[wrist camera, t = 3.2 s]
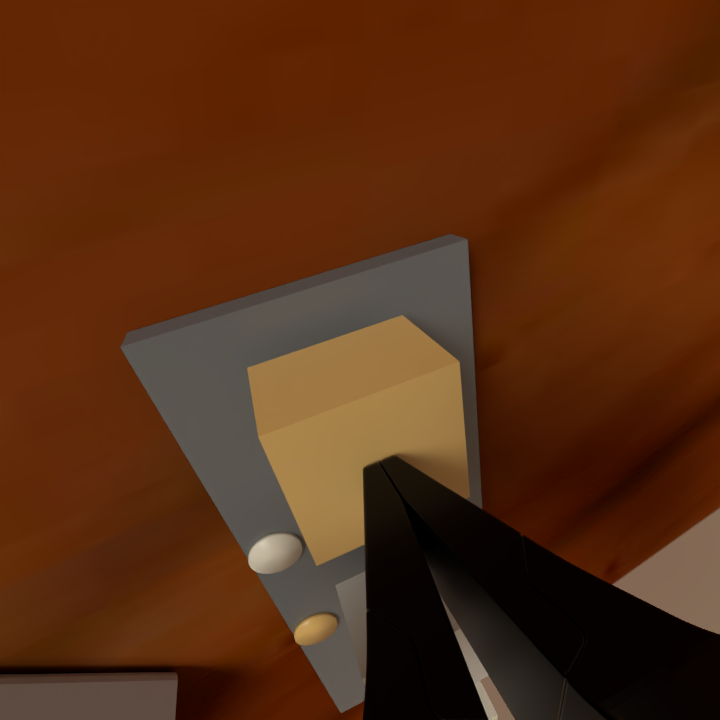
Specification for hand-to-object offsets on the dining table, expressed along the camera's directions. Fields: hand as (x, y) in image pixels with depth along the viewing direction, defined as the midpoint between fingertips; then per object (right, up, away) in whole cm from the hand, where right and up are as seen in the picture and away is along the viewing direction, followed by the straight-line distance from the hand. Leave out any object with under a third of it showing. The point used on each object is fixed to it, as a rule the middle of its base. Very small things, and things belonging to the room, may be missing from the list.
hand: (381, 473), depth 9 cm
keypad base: (0, -5, +9) cm, 10 cm away
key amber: (-1, +1, +3) cm, 3 cm away
